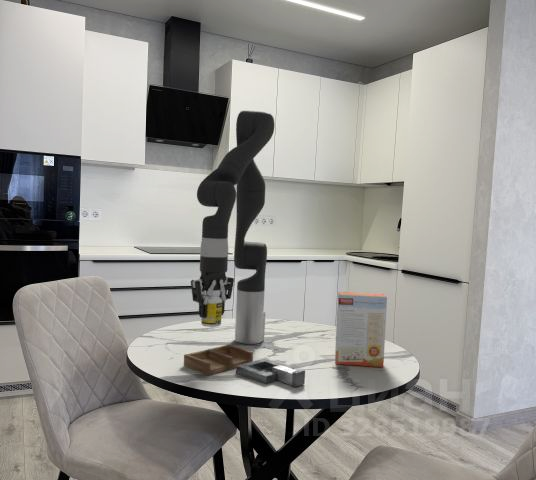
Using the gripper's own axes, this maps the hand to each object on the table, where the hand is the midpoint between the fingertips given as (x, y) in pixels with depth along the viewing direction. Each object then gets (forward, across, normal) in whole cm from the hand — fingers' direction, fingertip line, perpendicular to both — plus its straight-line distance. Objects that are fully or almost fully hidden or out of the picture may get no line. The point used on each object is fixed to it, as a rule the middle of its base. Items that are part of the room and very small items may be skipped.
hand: (211, 315), depth 138 cm
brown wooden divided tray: (+14, +4, +1) cm, 15 cm away
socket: (+14, +8, -13) cm, 21 cm away
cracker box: (+15, +37, -24) cm, 47 cm away
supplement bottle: (+3, 0, 0) cm, 3 cm away
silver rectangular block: (+14, +8, -22) cm, 27 cm away
